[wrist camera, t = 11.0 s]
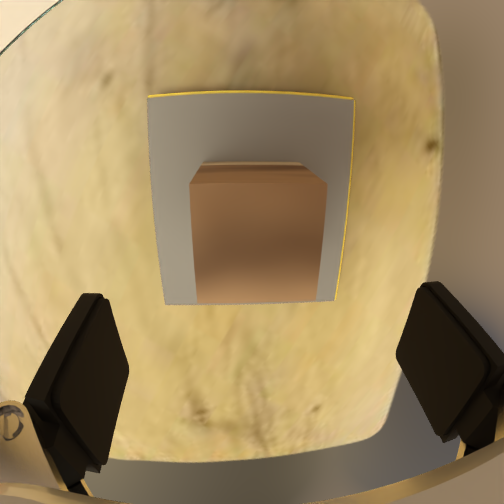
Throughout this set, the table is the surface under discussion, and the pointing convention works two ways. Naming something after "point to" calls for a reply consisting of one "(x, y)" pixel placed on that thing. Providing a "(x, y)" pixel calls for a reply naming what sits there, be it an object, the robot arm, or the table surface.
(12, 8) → the smartphone
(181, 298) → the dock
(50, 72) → the table surface
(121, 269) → the table surface
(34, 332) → the table surface
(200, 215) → the brown wooden block
